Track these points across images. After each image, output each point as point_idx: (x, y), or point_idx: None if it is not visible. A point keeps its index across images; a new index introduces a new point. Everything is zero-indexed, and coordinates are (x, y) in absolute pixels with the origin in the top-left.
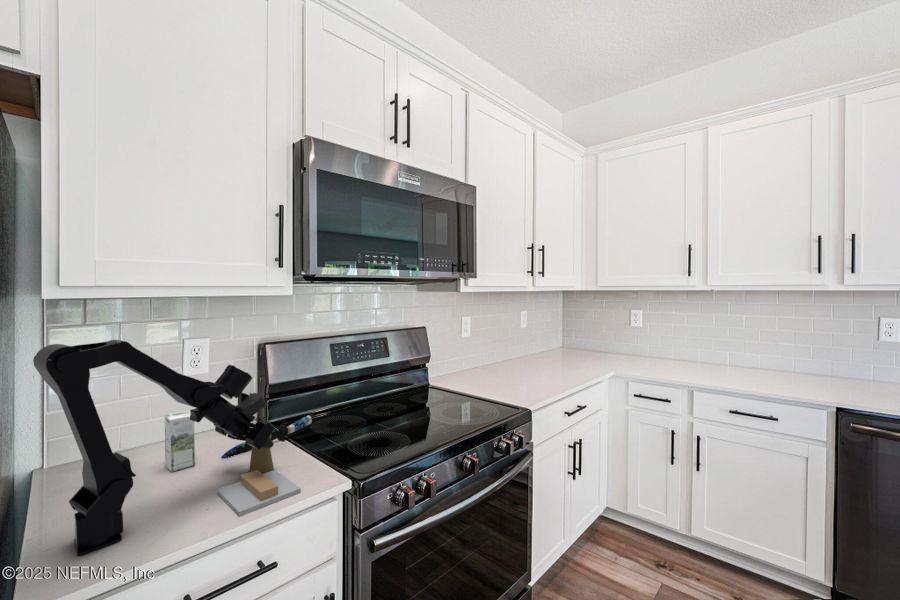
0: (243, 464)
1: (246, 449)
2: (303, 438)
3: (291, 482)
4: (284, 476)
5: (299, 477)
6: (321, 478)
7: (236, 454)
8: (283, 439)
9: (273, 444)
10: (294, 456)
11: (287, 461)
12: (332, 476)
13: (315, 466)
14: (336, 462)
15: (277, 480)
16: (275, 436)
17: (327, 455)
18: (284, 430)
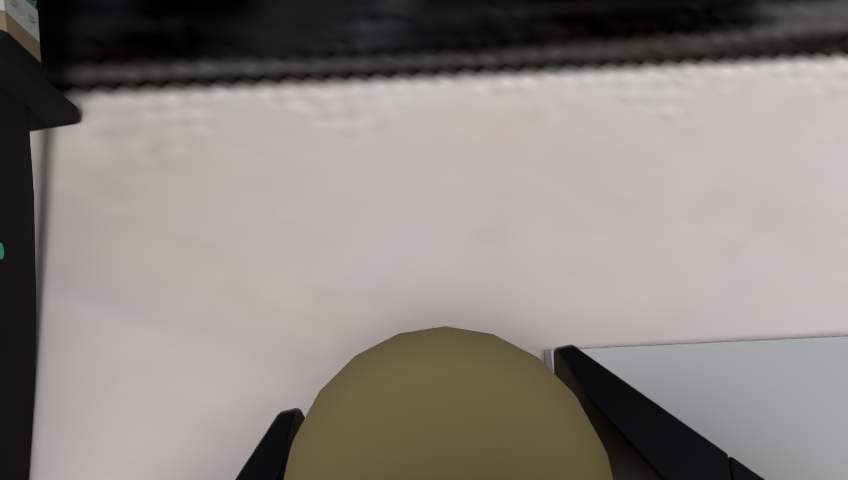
0: (233, 470)
1: (20, 374)
2: (146, 12)
3: (829, 344)
4: (703, 344)
5: (701, 255)
6: (795, 164)
7: (25, 454)
8: (71, 109)
9: (571, 347)
10: (371, 157)
11: (414, 219)
12: (806, 108)
13: (607, 123)
14: (633, 18)
15: (740, 407)
16: (12, 140)
17: (502, 14)
18: (10, 61)
